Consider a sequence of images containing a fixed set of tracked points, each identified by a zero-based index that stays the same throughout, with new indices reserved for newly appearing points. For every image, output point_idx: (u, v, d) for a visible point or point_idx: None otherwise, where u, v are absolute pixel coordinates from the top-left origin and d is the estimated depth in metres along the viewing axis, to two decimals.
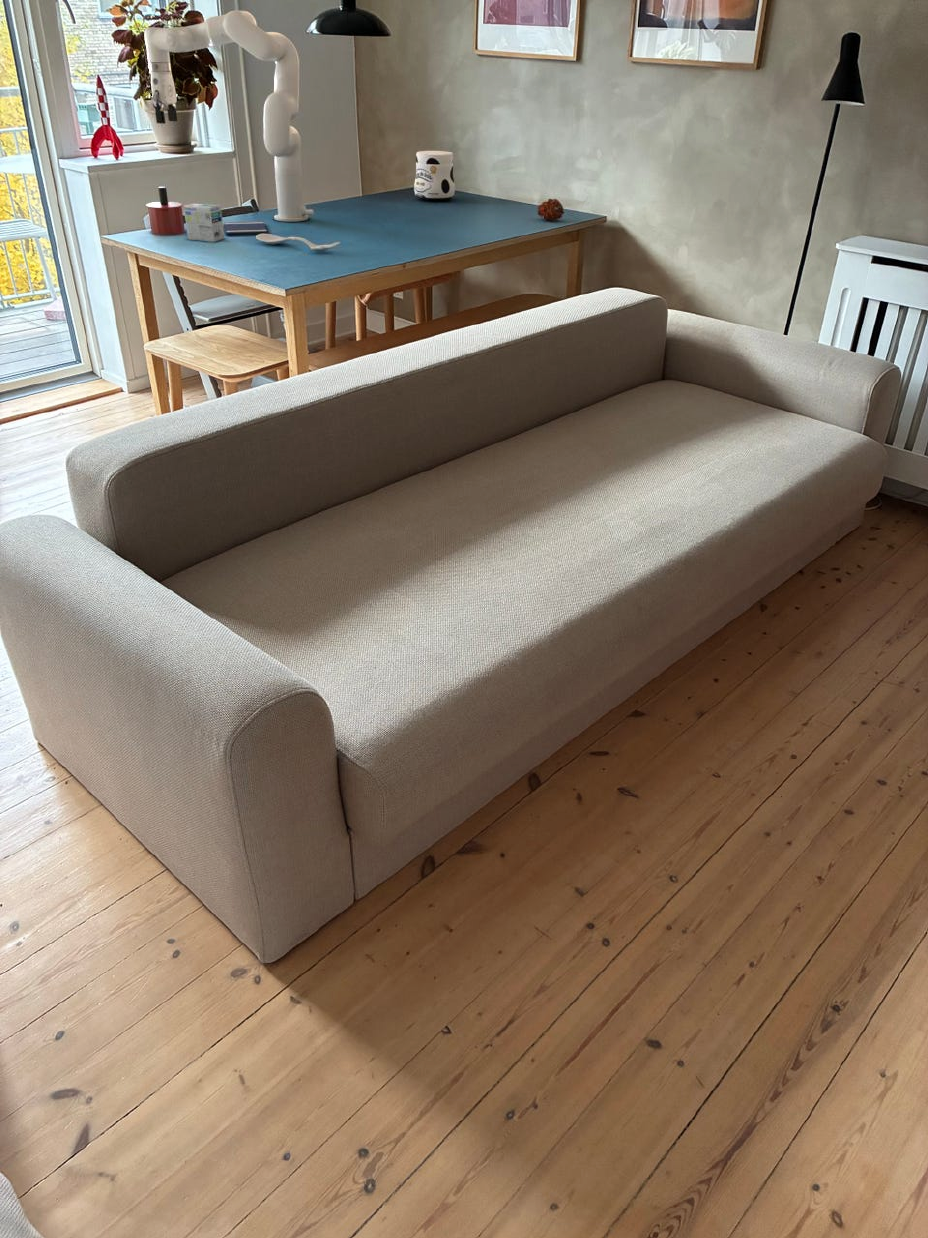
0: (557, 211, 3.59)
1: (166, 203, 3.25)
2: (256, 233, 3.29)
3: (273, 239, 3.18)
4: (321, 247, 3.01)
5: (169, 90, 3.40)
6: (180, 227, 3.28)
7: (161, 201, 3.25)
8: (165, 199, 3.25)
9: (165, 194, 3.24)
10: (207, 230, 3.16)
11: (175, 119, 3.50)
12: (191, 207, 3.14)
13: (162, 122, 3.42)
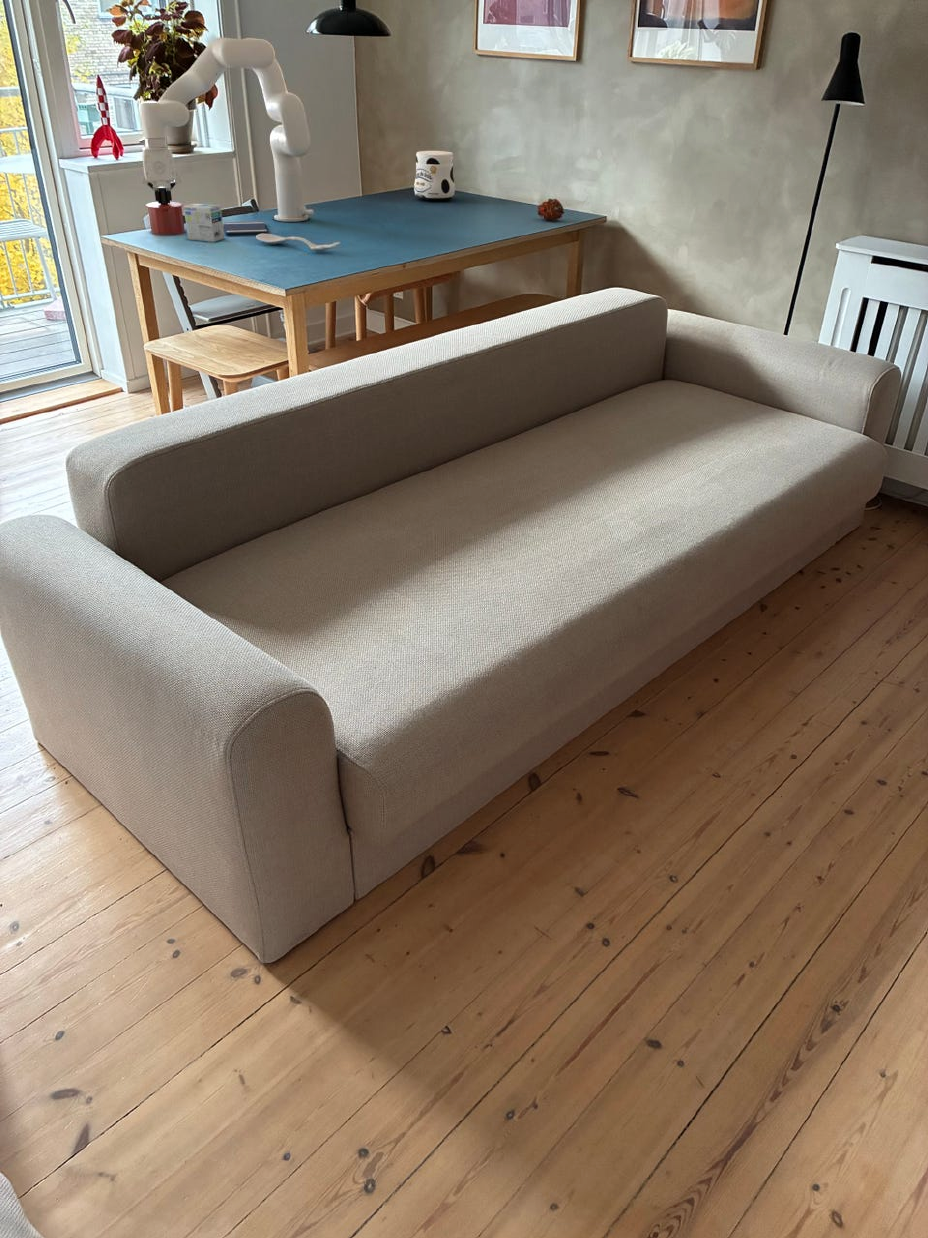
0: (557, 211, 3.59)
1: (166, 203, 3.25)
2: (256, 233, 3.29)
3: (273, 239, 3.18)
4: (321, 247, 3.01)
5: (157, 167, 3.18)
6: (180, 227, 3.28)
7: (161, 201, 3.25)
8: (165, 199, 3.25)
9: (165, 194, 3.24)
10: (207, 230, 3.16)
11: None
12: (191, 207, 3.14)
13: (158, 202, 3.25)
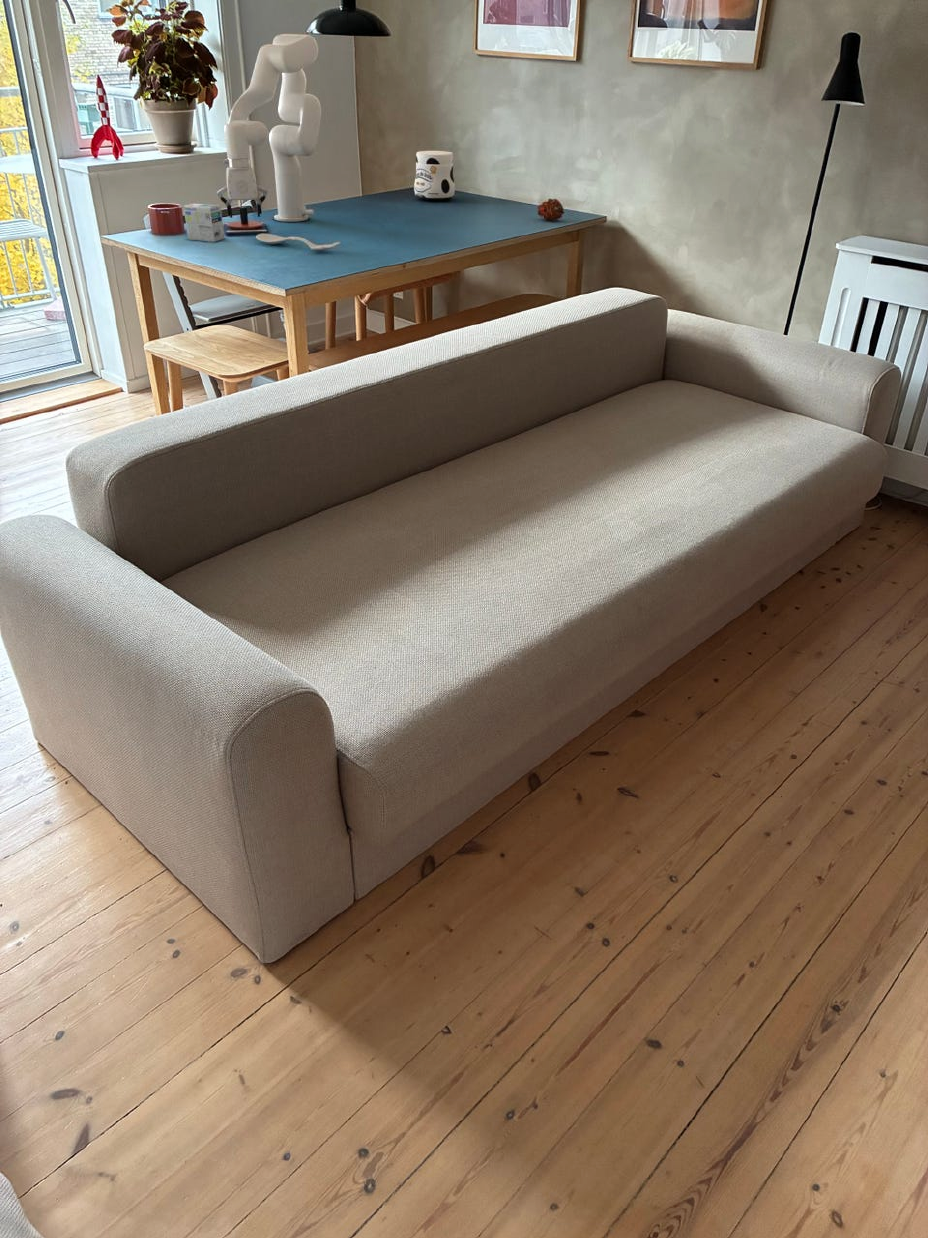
0: (557, 211, 3.59)
1: (246, 223, 3.35)
2: (256, 233, 3.29)
3: (273, 239, 3.18)
4: (321, 247, 3.01)
5: (240, 186, 3.27)
6: (180, 227, 3.28)
7: (242, 221, 3.34)
8: (246, 219, 3.34)
9: (246, 214, 3.33)
10: (207, 230, 3.16)
11: None
12: (191, 207, 3.14)
13: (230, 216, 3.33)
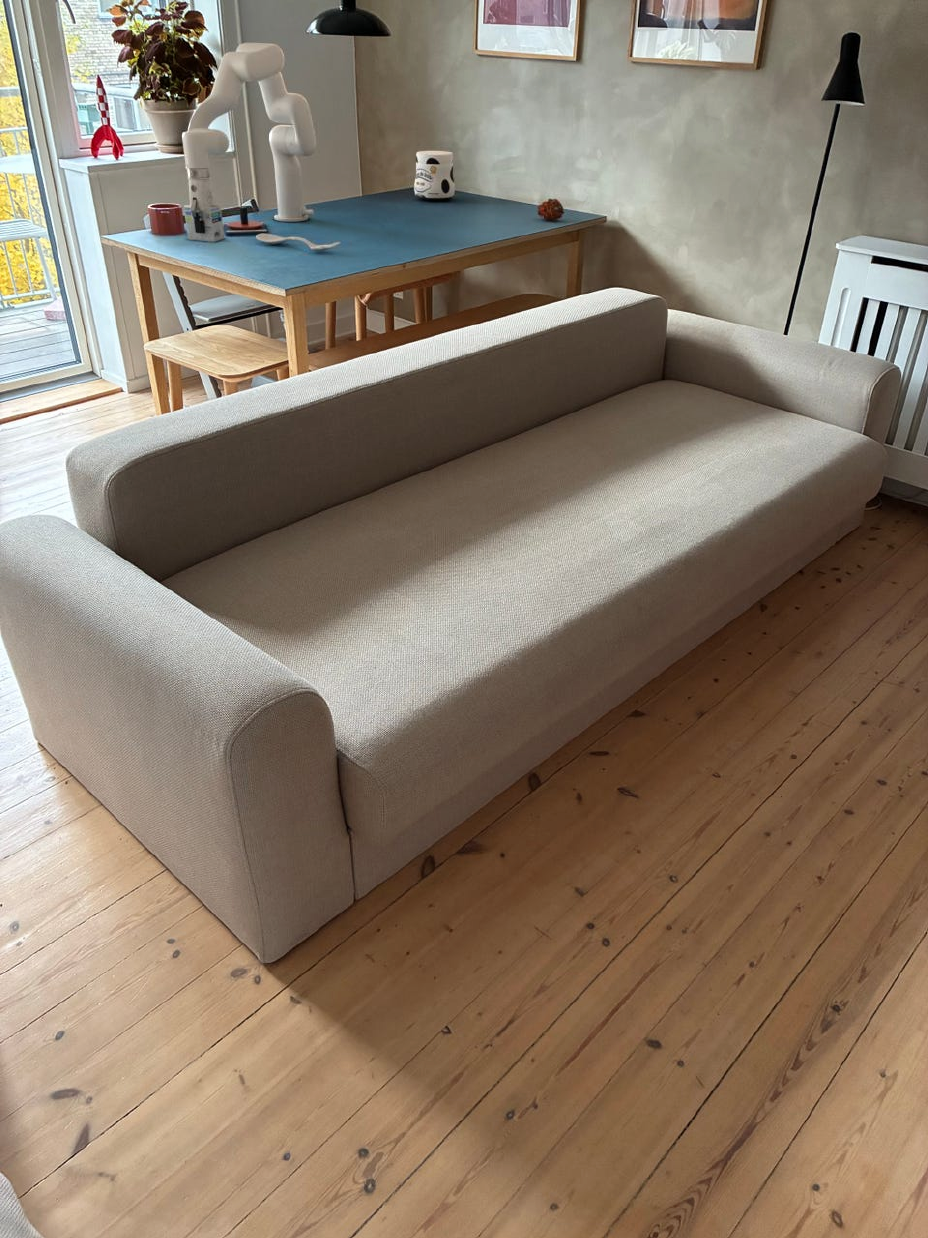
0: (557, 211, 3.59)
1: (246, 223, 3.35)
2: (256, 233, 3.29)
3: (273, 239, 3.18)
4: (321, 247, 3.01)
5: (208, 196, 3.14)
6: (180, 227, 3.28)
7: (242, 221, 3.34)
8: (246, 219, 3.34)
9: (246, 214, 3.33)
10: (207, 230, 3.16)
11: None
12: None
13: (201, 232, 3.16)
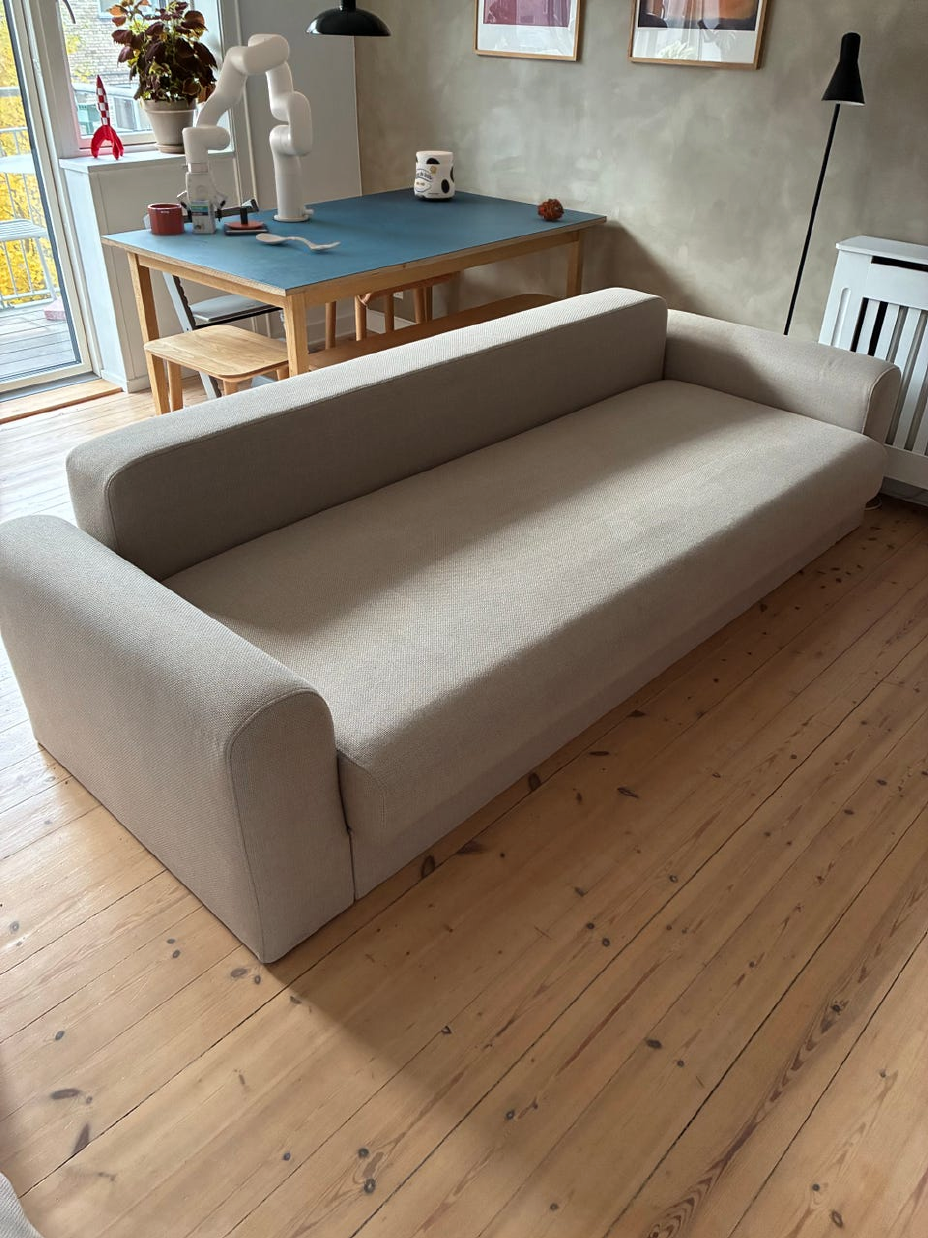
0: (557, 211, 3.59)
1: (246, 223, 3.35)
2: (256, 233, 3.29)
3: (273, 239, 3.18)
4: (321, 247, 3.01)
5: (199, 191, 3.25)
6: (180, 227, 3.28)
7: (242, 221, 3.34)
8: (246, 219, 3.34)
9: (246, 214, 3.33)
10: None
11: (218, 219, 3.32)
12: None
13: None
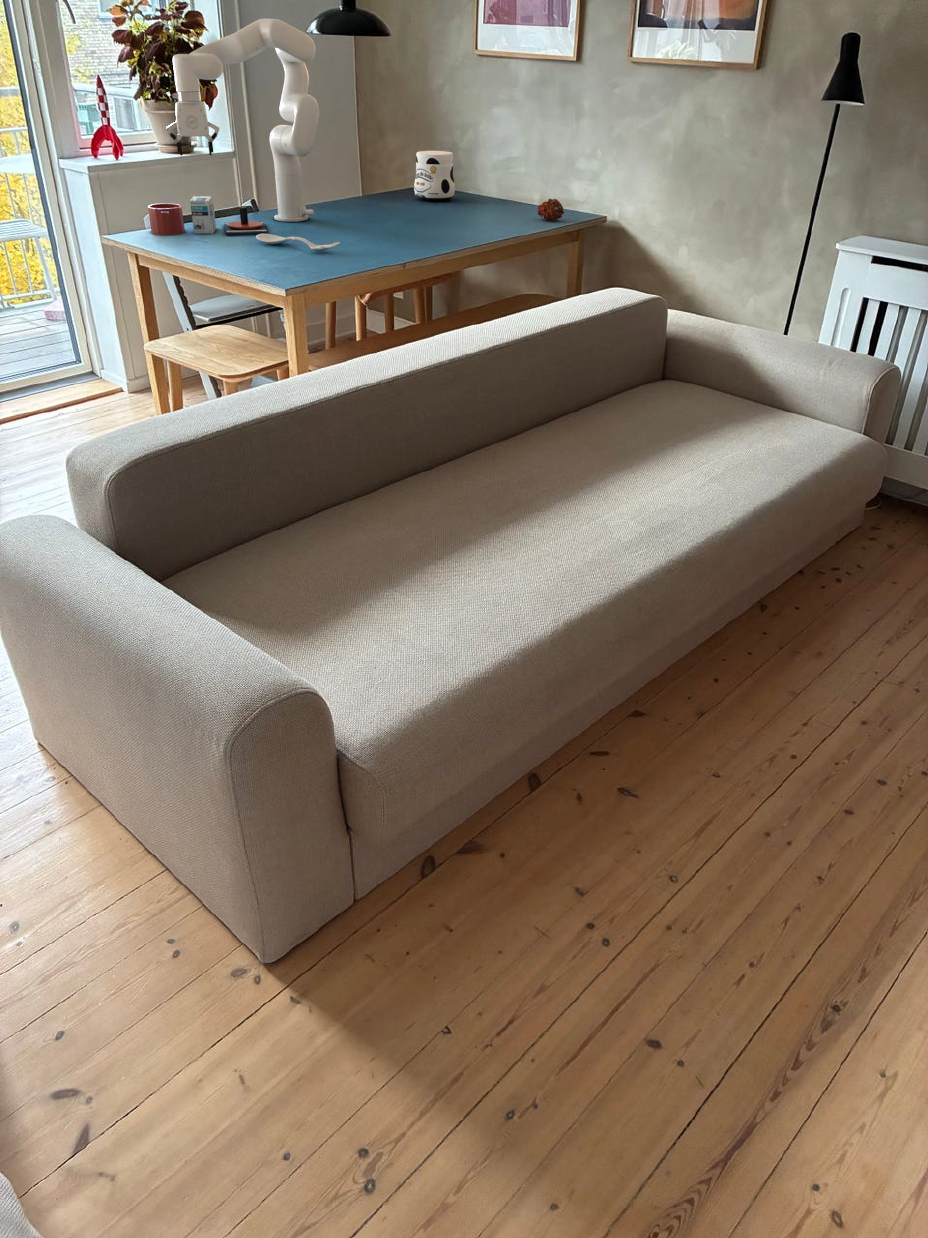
0: (557, 211, 3.59)
1: (246, 223, 3.35)
2: (256, 233, 3.29)
3: (273, 239, 3.18)
4: (321, 247, 3.01)
5: (190, 121, 3.13)
6: (180, 227, 3.28)
7: (242, 221, 3.34)
8: (246, 219, 3.34)
9: (246, 214, 3.33)
10: None
11: None
12: (192, 198, 3.30)
13: (180, 154, 3.19)
